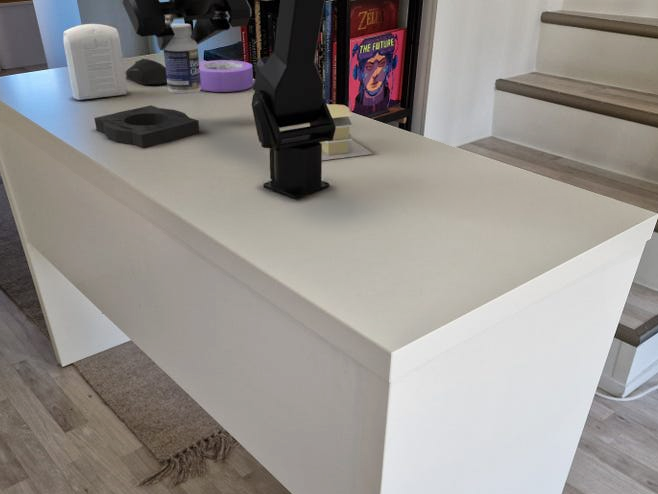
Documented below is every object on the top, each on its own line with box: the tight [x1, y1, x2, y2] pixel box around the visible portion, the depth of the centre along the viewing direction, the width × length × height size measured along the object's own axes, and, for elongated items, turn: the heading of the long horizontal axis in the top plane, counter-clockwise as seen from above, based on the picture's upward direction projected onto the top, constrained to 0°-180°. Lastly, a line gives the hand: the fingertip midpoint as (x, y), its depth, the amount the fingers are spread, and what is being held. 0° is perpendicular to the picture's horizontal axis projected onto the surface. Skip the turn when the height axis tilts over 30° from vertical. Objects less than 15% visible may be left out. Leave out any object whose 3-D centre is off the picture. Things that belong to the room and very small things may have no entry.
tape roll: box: [199, 59, 254, 93], centre depth 133 cm, size 12×12×4 cm
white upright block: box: [62, 23, 128, 101], centre depth 123 cm, size 10×4×12 cm, turn 123°
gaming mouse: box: [125, 58, 167, 86], centre depth 137 cm, size 6×15×4 cm, turn 43°
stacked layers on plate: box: [319, 103, 373, 161], centre depth 101 cm, size 10×9×6 cm
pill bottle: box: [162, 22, 202, 95], centre depth 106 cm, size 5×5×10 cm
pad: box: [94, 104, 201, 149], centre depth 108 cm, size 13×13×2 cm
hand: (176, 45), depth 106 cm, fingers closed on pill bottle, 5 cm apart
